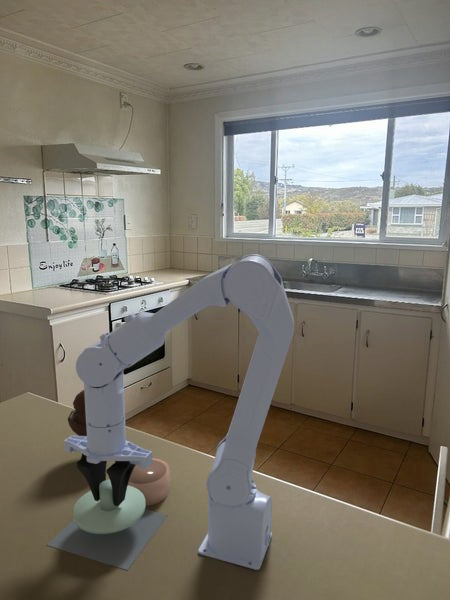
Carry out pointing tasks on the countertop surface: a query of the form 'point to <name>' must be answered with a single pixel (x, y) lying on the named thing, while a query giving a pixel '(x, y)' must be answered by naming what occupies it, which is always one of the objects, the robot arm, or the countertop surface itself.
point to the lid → (108, 510)
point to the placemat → (110, 541)
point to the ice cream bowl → (78, 415)
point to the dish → (152, 481)
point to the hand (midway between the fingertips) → (109, 499)
